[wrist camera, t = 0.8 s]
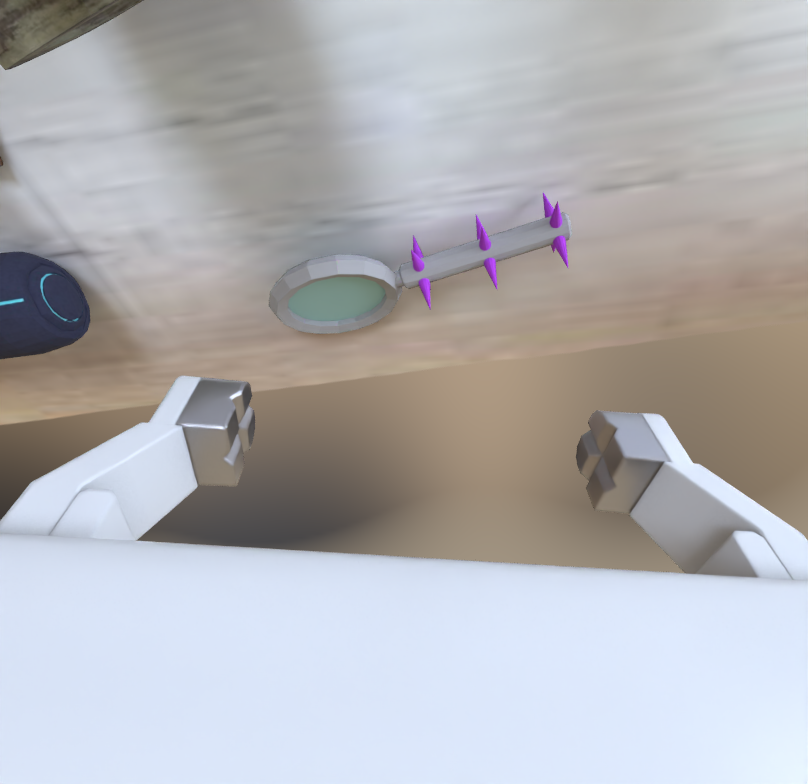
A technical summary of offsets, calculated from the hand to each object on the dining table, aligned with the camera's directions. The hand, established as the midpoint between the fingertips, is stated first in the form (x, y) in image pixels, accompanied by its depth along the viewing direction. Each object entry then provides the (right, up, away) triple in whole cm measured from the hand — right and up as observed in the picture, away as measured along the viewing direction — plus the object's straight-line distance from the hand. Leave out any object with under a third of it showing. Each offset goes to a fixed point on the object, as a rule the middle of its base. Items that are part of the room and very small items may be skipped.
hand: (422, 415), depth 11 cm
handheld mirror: (+1, +15, +40) cm, 42 cm away
